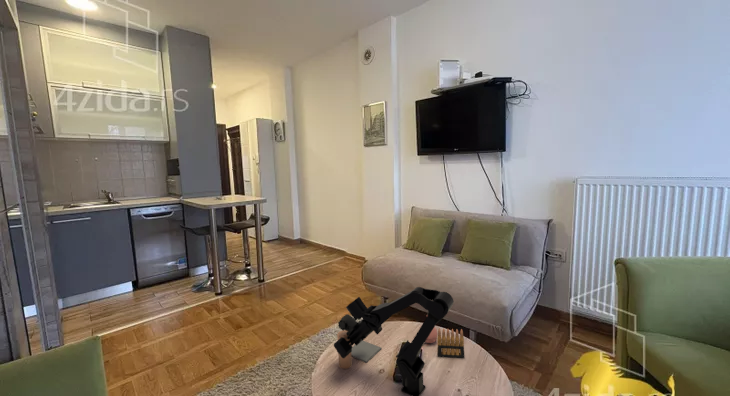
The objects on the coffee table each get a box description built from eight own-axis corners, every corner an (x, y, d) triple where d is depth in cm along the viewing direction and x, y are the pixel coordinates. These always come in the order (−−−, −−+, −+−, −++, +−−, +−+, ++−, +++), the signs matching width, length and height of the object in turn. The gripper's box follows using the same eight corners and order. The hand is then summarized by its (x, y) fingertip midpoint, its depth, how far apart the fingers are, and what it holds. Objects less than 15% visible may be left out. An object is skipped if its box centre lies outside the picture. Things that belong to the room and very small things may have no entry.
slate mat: (381, 349, 130) (381, 347, 130) (366, 362, 121) (366, 361, 121) (361, 341, 137) (361, 339, 137) (345, 353, 128) (345, 352, 128)
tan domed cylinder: (354, 363, 121) (353, 332, 120) (346, 370, 117) (344, 339, 116) (344, 359, 125) (343, 329, 123) (336, 365, 120) (334, 334, 119)
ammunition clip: (437, 357, 123) (437, 329, 122) (437, 354, 125) (436, 326, 124) (464, 358, 122) (464, 330, 120) (463, 355, 123) (463, 328, 122)
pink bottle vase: (432, 335, 139) (432, 310, 138) (440, 344, 132) (440, 318, 131) (417, 338, 137) (416, 313, 136) (424, 347, 130) (424, 321, 129)
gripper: (363, 301, 125) (342, 321, 131) (336, 321, 109) (314, 342, 115) (380, 324, 121) (358, 342, 128) (355, 348, 105) (332, 368, 112)
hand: (341, 348), depth 121 cm, fingers closed on tan domed cylinder, 5 cm apart
